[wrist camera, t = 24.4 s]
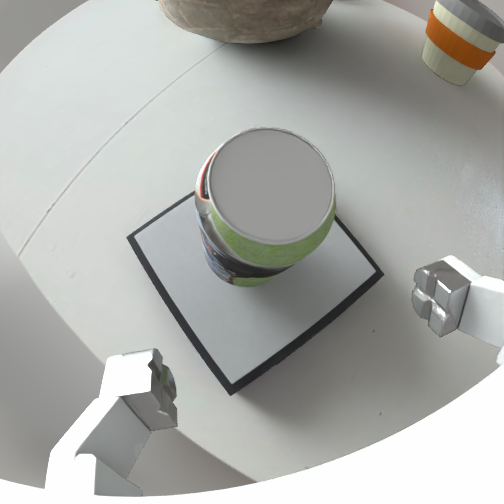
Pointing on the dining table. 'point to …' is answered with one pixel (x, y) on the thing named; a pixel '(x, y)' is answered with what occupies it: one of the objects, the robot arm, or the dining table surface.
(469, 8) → the reusable coffee cup
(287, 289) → the kitchen scale
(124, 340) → the dining table surface
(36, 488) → the robot arm
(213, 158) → the beverage can
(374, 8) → the dining table surface
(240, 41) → the bowl
